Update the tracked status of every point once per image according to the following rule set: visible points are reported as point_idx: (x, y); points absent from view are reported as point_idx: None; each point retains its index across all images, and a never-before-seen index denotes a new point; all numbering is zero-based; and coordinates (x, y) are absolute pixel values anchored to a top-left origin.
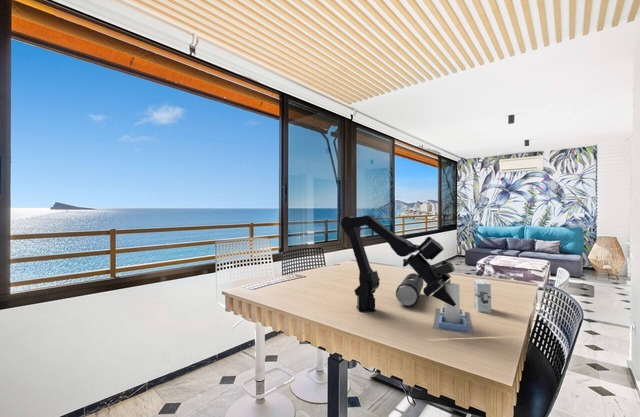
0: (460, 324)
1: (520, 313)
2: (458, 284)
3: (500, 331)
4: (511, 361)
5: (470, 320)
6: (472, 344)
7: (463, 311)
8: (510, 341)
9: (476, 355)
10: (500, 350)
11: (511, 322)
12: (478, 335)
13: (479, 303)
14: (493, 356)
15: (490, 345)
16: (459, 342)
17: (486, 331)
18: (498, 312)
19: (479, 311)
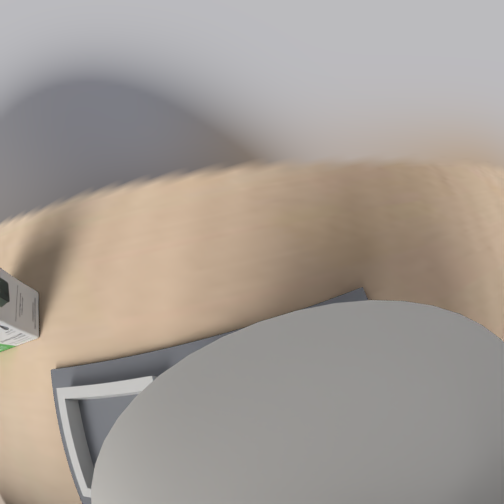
0: None
1: (21, 227)
2: (176, 377)
3: (212, 223)
4: (440, 166)
5: (154, 352)
6: (440, 265)
7: (87, 390)
8: (302, 181)
9: (487, 233)
10: (406, 191)
11: (92, 222)
12: (334, 276)
13: (9, 317)
14: (456, 199)
15: (397, 218)
16: (460, 305)
17: (252, 263)
18: (20, 276)
19: (34, 329)
